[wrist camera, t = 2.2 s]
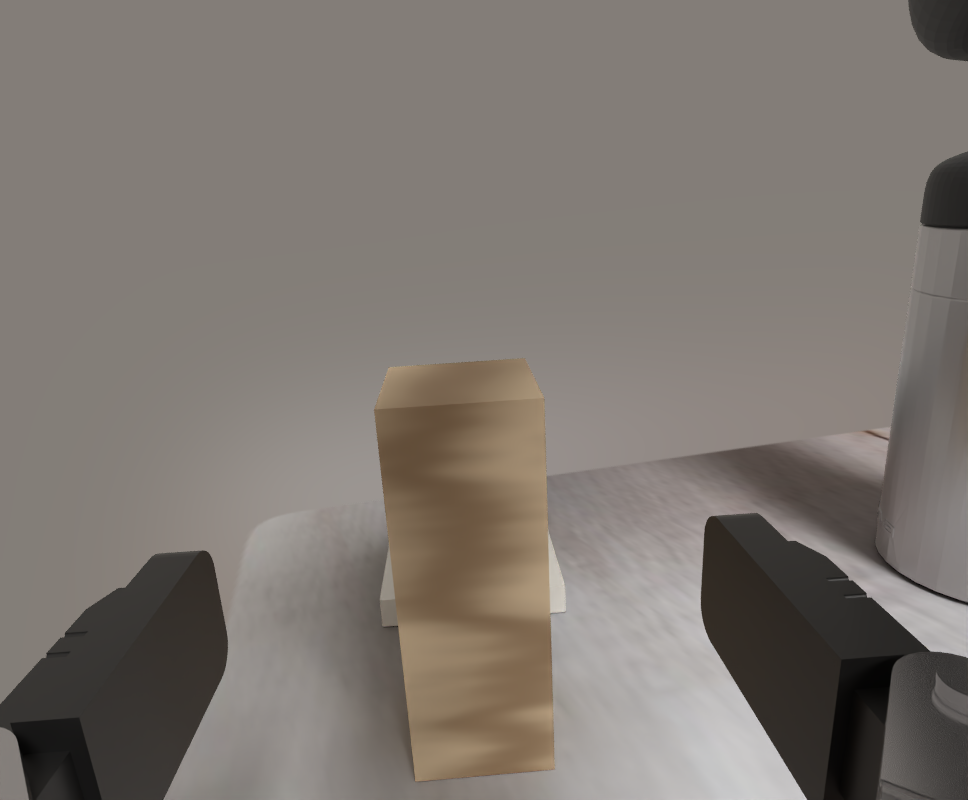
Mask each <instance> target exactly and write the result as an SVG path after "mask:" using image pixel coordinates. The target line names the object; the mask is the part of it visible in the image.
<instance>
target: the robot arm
mask: <svg viewBox="0 0 968 800" xmlns="http://www.w3.org/2000/svg"><path fill="white" fill-rule="evenodd" d="M909 11H910V16H911V21H912V25H913V28H914V30H915V32H916V35H917V37H918V39H919V40H920V41H921V43H922V44H923V45H924V46H925V47H926V48H927V49H928V50H929V51H930V52H932V53H934V54H936V55H938V56H940V57H943V58H946V59H952V60H962V61H968V0H909ZM920 222H921V223H922V225H920V227H919V234H918V241H917V247H916V255H915V261H914V269H913V275H912V282H911V286H912V287H911V290H910V296H909V304H908V310H907V317H906V325H905V332H904V338H903V346H902V353H901V360H900V367H899V374H898V381H897V388H896V395H895V402H894V409H893V416H892V423H891V430H890V437H889V444H888V451H887V458H886V465H885V472H884V480H883V487H882V494H881V500H880V503H879V508H878V523H877V532H876V539H875V544H876V547H877V550H878V552H879V553H880V555H881V556H882V557H883V558H884V560H885V561H886V562H887V563H888V564H890V565H891V566H892V567H893V568H895V569H896V570H897V571H898V572H900V573H901V574H903V575H905V576H906V577H908V578H910V579H911V580H913V581H915V582H917V583H919V584H921V585H923V586H925V587H927V588H930V589H932V590H934V591H936V592H939V593H942V594H944V595H947V596H950V597H953V598H956V599H958V600H962V601H966V602H968V152H965V153H962V154H959V155H957V156H954V157H952V158H949V159H947V160H945V161H944V162H942V163H940V164H939V165H938V166H937V167H935V168H934V170H933V171H932V172H931V174H930V176H929V178H928V181H927V184H926V188H925V192H924V199H923V206H922V213H921V220H920ZM701 611H702V618H703V622H704V626H705V630H706V632H707V635H708V637H709V639H710V641H711V643H712V645H713V646H714V648H715V650H716V651H717V653H718V655H719V656H720V658H721V659H722V661H723V663H724V664H725V666H726V668H727V669H728V671H729V673H730V674H731V676H732V677H733V679H734V681H735V682H736V684H737V686H738V687H739V689H740V690H741V692H742V694H743V695H744V697H745V699H746V700H747V702H748V704H749V705H750V707H751V708H752V710H753V712H754V713H755V715H756V717H757V718H758V720H759V722H760V723H761V725H762V726H763V728H764V730H765V731H766V733H767V735H768V736H769V738H770V740H771V741H772V743H773V744H774V746H775V748H776V749H777V751H778V753H779V754H780V756H781V758H782V759H783V761H784V762H785V764H786V766H787V767H788V769H789V771H790V772H791V774H792V775H793V777H794V779H795V780H796V782H797V784H798V785H799V787H800V789H801V790H802V792H803V793H804V795H805V797H806V798H807V800H968V658H966V657H963V656H958V655H954V654H949V653H942V652H930V651H929V650H928V649H927V648H926V647H925V646H924V645H923V644H922V643H921V642H919V641H918V640H917V639H916V638H915V637H914V636H913V635H912V634H911V633H910V632H908V631H907V630H906V629H905V628H904V627H903V626H902V625H901V624H900V623H899V622H897V621H896V620H895V619H894V618H893V617H892V616H891V615H890V614H889V613H888V612H887V611H885V610H884V609H883V608H882V607H881V606H880V605H879V604H878V603H877V602H876V601H874V600H873V599H872V598H867V595H866V592H865V591H863V590H862V589H861V588H860V587H859V586H858V585H857V584H856V583H855V582H854V581H853V580H852V581H849V579H848V576H847V575H846V574H845V573H844V572H843V571H842V570H840V569H839V568H838V567H837V566H836V565H835V564H834V563H833V562H832V561H831V560H829V559H828V558H827V557H826V556H824V555H822V554H820V553H818V552H816V551H814V550H812V549H810V548H808V547H806V546H804V545H802V544H800V543H798V542H797V541H787V540H786V539H785V538H784V537H783V536H782V535H781V534H780V533H779V532H778V531H777V530H776V529H775V528H774V527H773V526H772V525H770V524H769V523H768V522H767V521H766V520H765V519H764V518H763V517H762V516H761V515H760V514H757V513H750V514H736V515H722V516H711V517H709V518H708V520H707V522H706V526H705V533H704V551H703V569H702V587H701ZM227 653H228V639H227V631H226V626H225V621H224V616H223V610H222V605H221V600H220V595H219V589H218V584H217V578H216V573H215V568H214V563H213V560H212V558H211V556H210V554H209V553H208V552H207V551H190V552H177V553H162V554H155V555H154V556H152V557H151V558H150V560H149V561H148V562H147V563H146V564H145V565H144V566H143V568H142V569H141V570H140V571H139V573H137V575H136V576H135V577H134V578H133V579H132V580H131V582H130V583H129V584H128V585H127V586H126V588H118V589H116V590H115V591H113V592H112V593H110V594H109V595H107V596H106V597H104V598H103V599H101V600H100V601H98V602H97V603H95V604H94V605H92V606H91V607H89V608H88V609H86V610H85V611H84V613H83V614H82V615H81V616H80V617H79V618H78V619H77V620H76V621H75V622H74V623H73V625H72V626H71V627H70V628H69V629H68V630H67V631H66V632H65V637H64V638H60V639H59V640H58V641H57V642H56V643H55V644H54V646H53V647H52V648H51V649H50V650H49V651H48V652H47V657H46V658H42V659H41V660H40V661H39V662H38V663H37V664H36V666H35V667H34V668H33V669H32V670H31V671H30V672H29V673H28V674H27V675H26V677H25V678H24V679H23V680H22V681H21V682H20V683H19V684H18V685H17V686H16V688H15V689H14V690H13V691H12V692H11V693H10V694H9V695H8V696H7V697H6V699H5V700H4V701H3V702H2V703H1V704H0V800H163V799H164V797H165V795H166V793H167V791H168V789H169V787H170V784H171V782H172V780H173V778H174V776H175V774H176V772H177V770H178V768H179V766H180V764H181V762H182V760H183V758H184V755H185V753H186V751H187V749H188V747H189V745H190V743H191V741H192V739H193V737H194V735H195V733H196V731H197V728H198V726H199V724H200V722H201V720H202V718H203V716H204V714H205V712H206V710H207V708H208V706H209V704H210V702H211V699H212V697H213V695H214V693H215V691H216V689H217V687H218V685H219V683H220V681H221V679H222V676H223V674H224V670H225V666H226V661H227Z"/></svg>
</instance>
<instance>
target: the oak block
mask: <svg viewBox="0 0 968 800" xmlns="http://www.w3.org/2000/svg"><path fill="white" fill-rule="evenodd" d="M544 408H545V406H544V396H543V394H542V392H541V390H540V388H539V386H538V384H537V382H536V380H535V378H534V376H533V374H532V372H531V370H530V368H529V366H528V364H527V362H526V360H525V358H521V359H506V360H491V361H476V362H461V363H446V364H431V365H416V366H401V367H389V368H388V371H387V374H386V377H385V380H384V383H383V386H382V388H381V391H380V394H379V397H378V400H377V403H376V406H375V409H374V413H375V422H376V431H377V440H378V449H379V457H380V467H381V476H382V485H383V493H384V503H385V512H386V521H387V530H388V539H389V548H390V557H391V566H392V575H393V584H394V593H395V602H396V611H397V620H398V629H399V638H400V647H401V656H402V665H403V674H404V683H405V692H406V701H407V710H408V719H409V728H410V737H411V746H412V755H413V764H414V773H415V782H419V781H430V780H441V779H453V778H464V777H475V776H486V775H497V774H508V773H519V772H531V771H542V770H553V769H555V764H554V728H553V692H552V656H551V620H550V584H549V549H548V513H547V477H546V441H545V409H544Z"/></svg>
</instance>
